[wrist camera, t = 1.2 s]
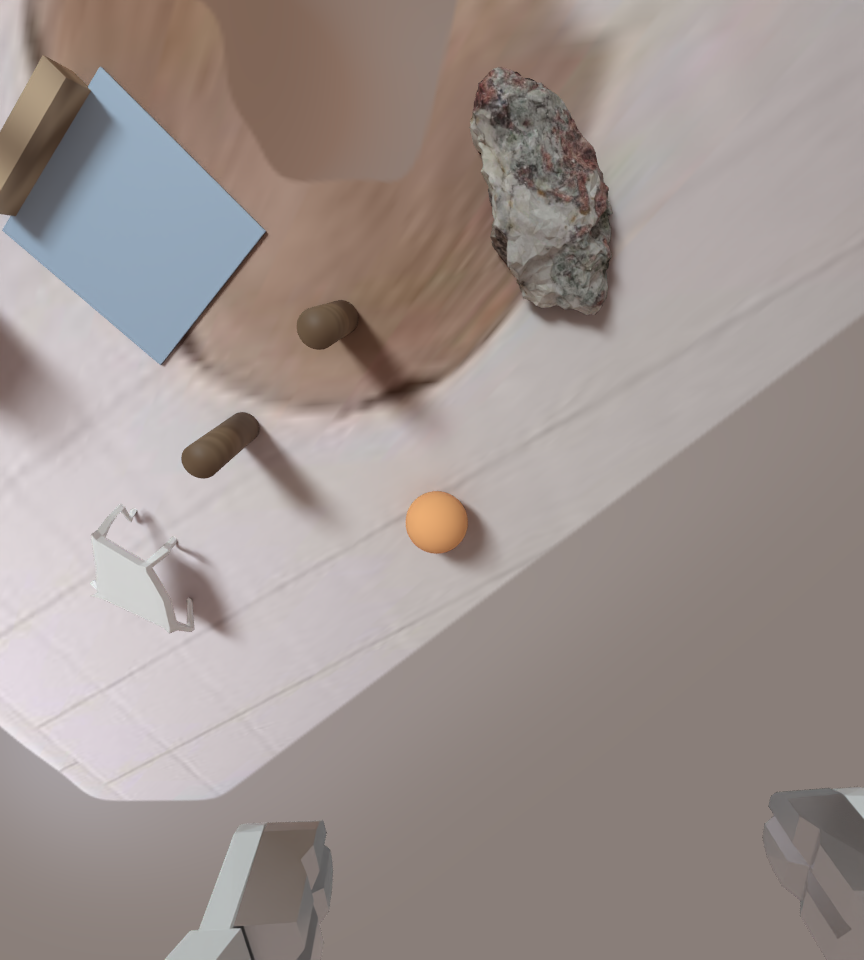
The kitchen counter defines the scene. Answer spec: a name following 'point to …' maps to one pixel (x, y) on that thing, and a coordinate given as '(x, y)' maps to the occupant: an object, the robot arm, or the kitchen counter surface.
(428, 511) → the ball
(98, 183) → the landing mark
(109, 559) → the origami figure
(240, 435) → the post
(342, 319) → the post
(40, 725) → the kitchen counter surface
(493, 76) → the mineral rock
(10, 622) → the kitchen counter surface
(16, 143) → the stopper wall
